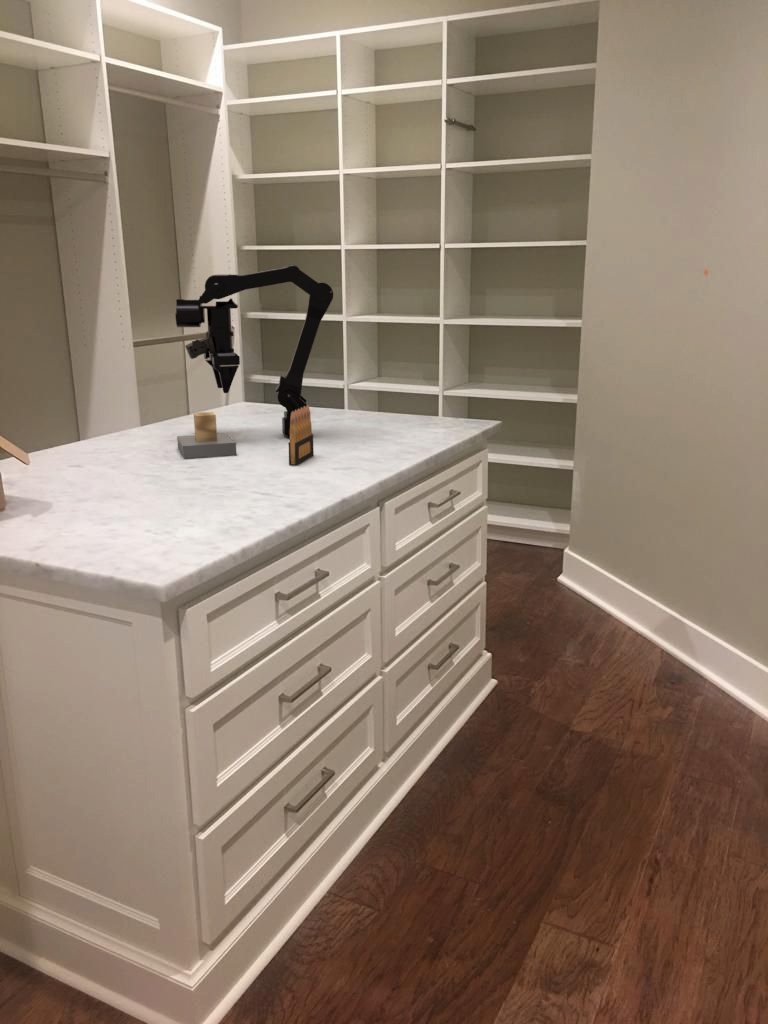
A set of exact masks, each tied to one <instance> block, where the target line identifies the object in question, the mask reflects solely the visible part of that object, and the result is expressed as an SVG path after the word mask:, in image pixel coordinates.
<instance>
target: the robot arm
mask: <svg viewBox="0 0 768 1024" xmlns="http://www.w3.org/2000/svg"><path fill="white" fill-rule="evenodd" d="M285 283H293V284H294V285H295V286H297V287H298V288H300V289H301V290H302V291H303V292H305V293H306V294H308V299H307V307H306V315H305V320H304V322H303V325H302V329H301V331H300V334H299V338H298V341H297V344H296V347H295V350H294V354H293V357H292V360H291V362H290V363H291V364H290V366H289V369H288V371H287V372H286V374H283V373H280V375H279V383H278V384H277V386H276V387H275V392H276V393H277V401H278V403H279V405H281V406H282V407H284V408H285V410H286V411H283V417H282V418H281V424H282V425H281V427H282V429H281V430H282V435H284V436H285V437H286V438H287V439H290V418H291V413H292V411H293V412H295V410H298V408H299V409H301V407H302V408H303V407H304V406H305V407H306V406H307V405H308V406H309V402H308V400H307V399H306V398H305V397H304V396H303V395H302V389H303V380H304V373H305V371H306V367H307V364H308V361H309V358H310V355H311V351H312V348H313V345H314V343H315V339H316V336H317V333H318V329H319V326H320V324H321V321H322V320H323V318H324V317H325V314H326V313H327V311H328V309H329V307H330V304H332V302H333V299H334V291H333V288H332V287H331V286H330V285H329V284H328V283H326V282H323V281H316V280H315V279H314V278H312V277H310V276H309V275H308V274H306V273H305V272H304V271H302V270H301V269H300V268H299V267H298V266H297V265H294V264H293V265H292V264H290V265H288V266H284V267H280V268H273V269H268V270H262V271H257V272H251V273H246V274H245V273H244V274H213V275H210V276H209V277H208V278H207V279H206V280H205V283H204V291H203V293H202V294H201V295H200V296H199V298H198V299H185V298H184V299H183V298H177V299H176V306H175V307H176V308H175V309H176V310H175V311H176V312H175V316H174V317H175V323H176V324H175V325H176V327H177V328H201V327H202V324H205V323H206V321H207V330H206V332H205V337H203V338H200V339H195V340H194V341H193V340H192V341H191V342H190V343H187V344H186V345H184V346H185V350H186V351H187V354H188V356H189V358H190V359H191V360H193V359H196V358H198V357H200V356H201V355H203V358H204V361H205V362H206V363H207V364H208V365H210V366H211V369H212V372H213V374H214V375H213V376H214V378H215V379H214V380H215V383H216V385H217V389H222V392H223V394H228V393H229V392H230V389H231V386H232V385H233V384H232V383H233V380H234V378H235V376H236V374H237V371H238V369H239V365H241V359H240V356H239V355H238V354H237V352H235V349H234V348H233V337H234V331H232V312H231V311H232V310H231V309H238V307H239V305H238V304H237V303H235V301H234V299H233V298H231V297H230V298H229V300H227V301H216V300H222V299H225V298H226V297H229V296H232V295H235V294H237V293H241V292H243V291H245V290H246V291H247V290H250V289H251V290H252V289H256V288H262V287H267V286H272V285H273V286H274V285H278V284H285ZM213 300H215V305H205V304H209V303H210V302H211V301H213ZM203 304H204V305H203ZM205 309H206V311H205ZM205 312H206V313H205ZM206 316H207V318H206ZM206 319H207V320H206ZM309 407H310V406H309Z"/></svg>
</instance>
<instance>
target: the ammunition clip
mask: <svg viewBox="0 0 768 1024" xmlns="http://www.w3.org/2000/svg"><path fill="white" fill-rule="evenodd" d="M308 405H309V404H308ZM308 405H307V406H306V407H305V406H304V407H303V408H302V407H301V409H299V408H298V410H295V412H293V411H292V413H291V418H290V438H289V442H288V465H289V466H294V467H296V466H300V465H301V464H302V463H305V462H306V461H307V460H309V459H311V458H313V457H314V456H315V455H314V434H313V432H312V431H313V430H312V421H311V418H312V417H311V410H310V406H308Z"/></svg>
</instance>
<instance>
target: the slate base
mask: <svg viewBox="0 0 768 1024" xmlns="http://www.w3.org/2000/svg"><path fill="white" fill-rule="evenodd" d="M176 439H177V440H176V441H177V449H178V451H179V453H180V454H181V455H180V456H181V457H182V458H183V460H189V459H190V460H192V459H202V458H218V457H219V458H220V457H230V456H231V457H233V455H234V456H237V442H236V441H235V439H233V438H232V436H230V434H229V433H228V432H227V433H226V432H225V433H222V432H221V433H217V441H202V442H197V440H196V439H195V434H194V435H193V434H192V435H178V436H176Z"/></svg>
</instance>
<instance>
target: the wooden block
mask: <svg viewBox="0 0 768 1024" xmlns="http://www.w3.org/2000/svg"><path fill="white" fill-rule="evenodd" d="M193 424H194V435H195V439H196V440H197V442H202V441H217V434H218V431H217V416H216V414H215V413H214V412H213V411H207V412H193Z"/></svg>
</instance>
